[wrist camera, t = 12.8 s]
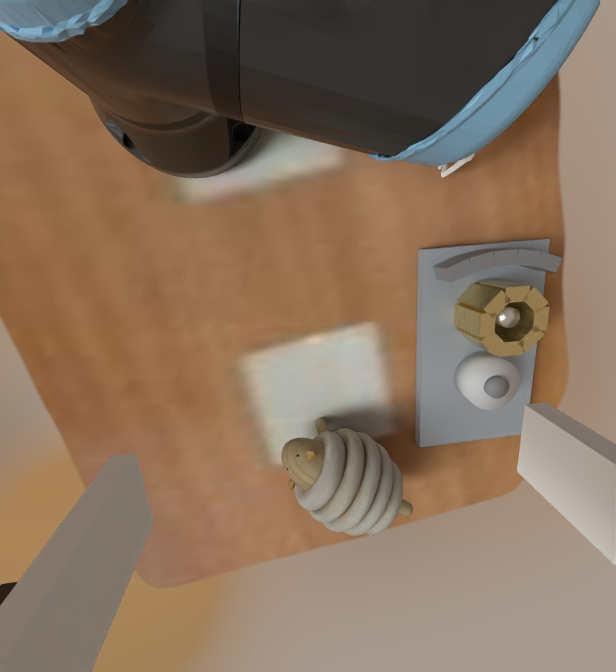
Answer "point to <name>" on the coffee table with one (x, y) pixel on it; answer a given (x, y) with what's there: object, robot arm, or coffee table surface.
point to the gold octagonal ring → (487, 302)
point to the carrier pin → (507, 317)
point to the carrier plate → (471, 344)
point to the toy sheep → (345, 480)
